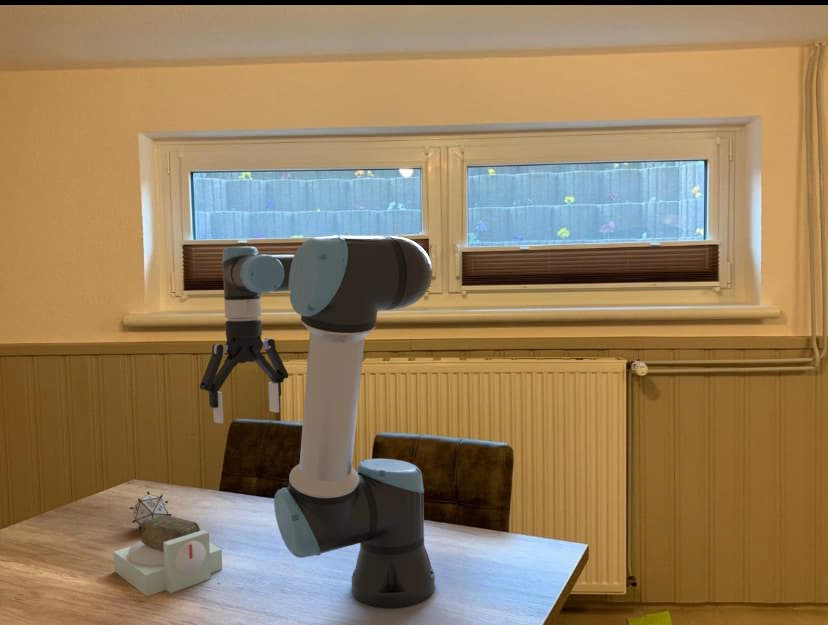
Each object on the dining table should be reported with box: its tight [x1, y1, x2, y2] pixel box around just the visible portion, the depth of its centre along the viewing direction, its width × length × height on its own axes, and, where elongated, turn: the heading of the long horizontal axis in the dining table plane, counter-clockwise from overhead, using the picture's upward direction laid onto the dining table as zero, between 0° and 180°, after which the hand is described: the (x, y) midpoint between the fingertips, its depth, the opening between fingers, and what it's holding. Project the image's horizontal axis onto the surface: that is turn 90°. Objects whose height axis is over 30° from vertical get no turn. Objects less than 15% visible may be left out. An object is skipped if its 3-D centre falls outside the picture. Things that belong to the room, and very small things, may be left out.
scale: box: [113, 529, 223, 597], centre depth 132 cm, size 18×15×9 cm
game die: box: [129, 490, 173, 529], centre depth 155 cm, size 9×8×10 cm
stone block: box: [140, 515, 201, 551], centre depth 132 cm, size 6×12×5 cm, turn 60°
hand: (247, 417), depth 146 cm, fingers open, 13 cm apart
